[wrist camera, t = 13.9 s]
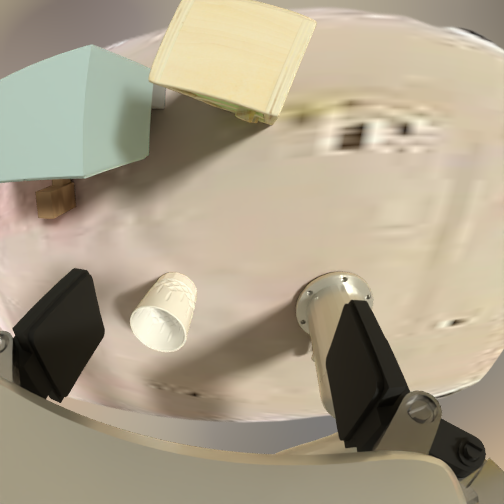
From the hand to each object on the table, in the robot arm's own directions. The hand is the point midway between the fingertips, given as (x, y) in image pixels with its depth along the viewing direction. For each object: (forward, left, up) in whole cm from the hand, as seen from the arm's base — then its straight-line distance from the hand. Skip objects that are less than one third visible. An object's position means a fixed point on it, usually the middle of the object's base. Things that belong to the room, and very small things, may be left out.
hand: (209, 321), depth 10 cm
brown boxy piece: (+1, +29, -28) cm, 41 cm away
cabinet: (+8, +20, -28) cm, 36 cm away
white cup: (-18, +10, -28) cm, 35 cm away
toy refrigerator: (+11, +1, -28) cm, 31 cm away
